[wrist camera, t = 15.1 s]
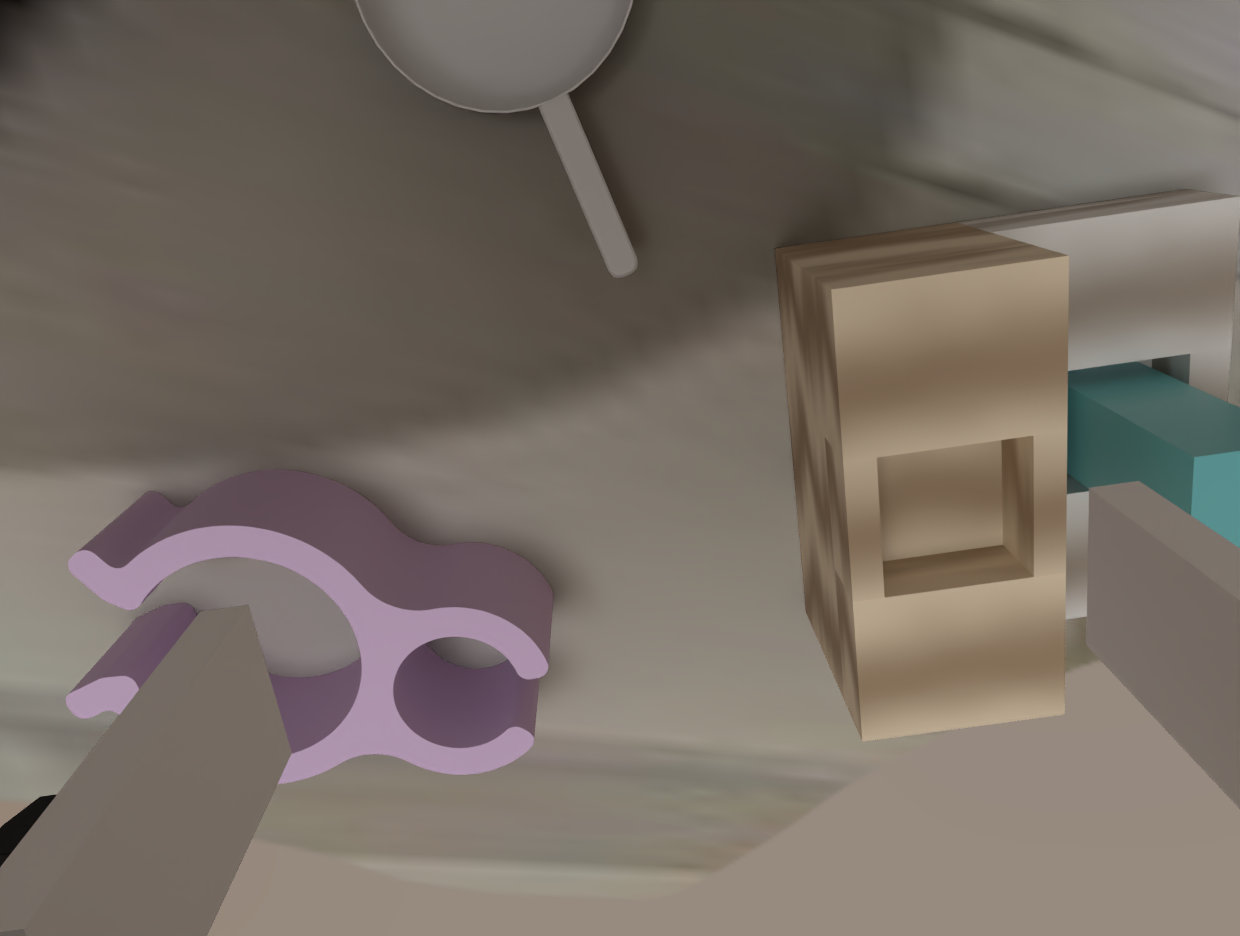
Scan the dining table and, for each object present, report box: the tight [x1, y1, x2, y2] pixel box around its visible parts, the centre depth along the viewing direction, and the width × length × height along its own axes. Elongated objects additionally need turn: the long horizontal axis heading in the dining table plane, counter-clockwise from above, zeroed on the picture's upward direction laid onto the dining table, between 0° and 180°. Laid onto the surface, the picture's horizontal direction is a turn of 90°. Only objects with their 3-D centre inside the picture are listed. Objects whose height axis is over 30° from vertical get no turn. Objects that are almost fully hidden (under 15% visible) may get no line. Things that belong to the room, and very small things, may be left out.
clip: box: [66, 470, 553, 784], centre depth 46 cm, size 20×12×7 cm, turn 79°
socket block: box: [775, 189, 1240, 742], centre depth 42 cm, size 18×18×11 cm
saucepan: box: [355, 0, 638, 278], centre depth 40 cm, size 11×18×4 cm, turn 23°
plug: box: [1067, 361, 1240, 548], centre depth 41 cm, size 5×4×12 cm
